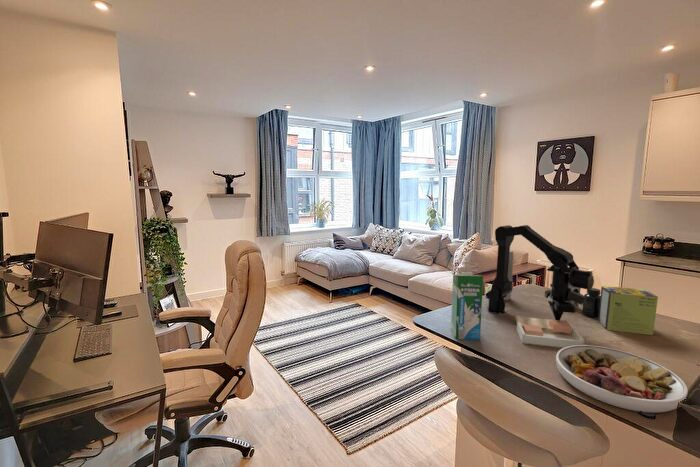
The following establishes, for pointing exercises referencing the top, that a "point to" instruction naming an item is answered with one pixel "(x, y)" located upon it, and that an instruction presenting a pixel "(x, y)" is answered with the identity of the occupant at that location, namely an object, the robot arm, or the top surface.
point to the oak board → (537, 324)
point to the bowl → (621, 378)
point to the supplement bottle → (591, 303)
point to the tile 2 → (560, 326)
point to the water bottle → (510, 273)
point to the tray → (551, 338)
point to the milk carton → (466, 306)
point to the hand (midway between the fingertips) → (557, 321)
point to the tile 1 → (532, 330)
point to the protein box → (627, 310)
